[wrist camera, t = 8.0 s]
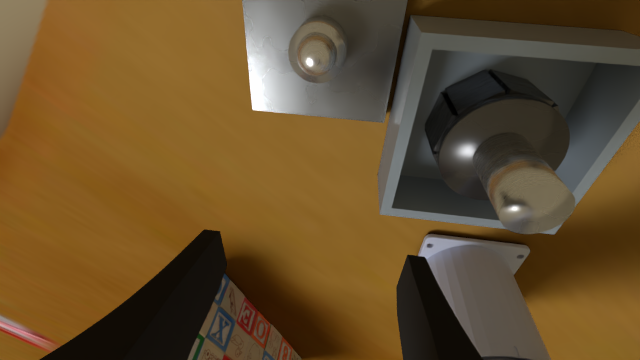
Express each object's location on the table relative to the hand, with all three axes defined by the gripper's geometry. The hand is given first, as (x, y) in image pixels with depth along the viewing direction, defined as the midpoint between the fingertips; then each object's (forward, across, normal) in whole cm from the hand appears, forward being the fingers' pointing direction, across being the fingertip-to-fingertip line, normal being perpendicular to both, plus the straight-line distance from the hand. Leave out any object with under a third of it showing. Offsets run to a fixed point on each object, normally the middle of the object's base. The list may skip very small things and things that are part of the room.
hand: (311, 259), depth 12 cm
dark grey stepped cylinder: (+10, -8, -2) cm, 13 cm away
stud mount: (+10, +1, -6) cm, 12 cm away
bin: (+10, -8, -2) cm, 14 cm away
